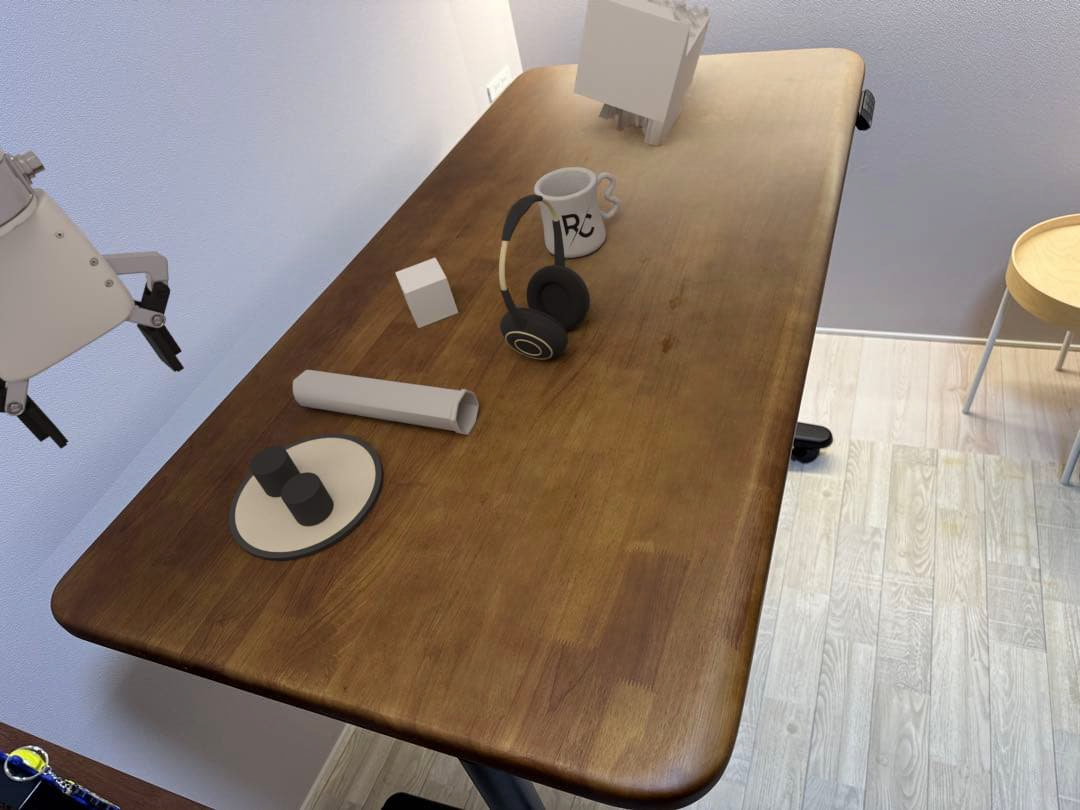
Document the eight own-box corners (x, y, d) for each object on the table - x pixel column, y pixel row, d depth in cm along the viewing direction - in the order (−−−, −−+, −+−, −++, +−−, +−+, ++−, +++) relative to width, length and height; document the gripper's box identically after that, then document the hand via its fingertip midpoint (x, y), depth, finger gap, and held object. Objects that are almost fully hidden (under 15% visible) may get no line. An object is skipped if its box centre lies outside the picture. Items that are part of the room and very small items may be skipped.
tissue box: (604, 88, 147) (632, -54, 127) (684, 115, 144) (725, -26, 124) (564, 142, 134) (588, -6, 115) (651, 172, 132) (690, 26, 112)
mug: (562, 268, 112) (549, 207, 105) (536, 241, 118) (522, 182, 111) (637, 236, 114) (629, 173, 107) (608, 211, 120) (599, 151, 113)
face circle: (282, 590, 80) (279, 587, 79) (204, 509, 91) (201, 505, 90) (414, 479, 87) (412, 475, 87) (328, 416, 98) (326, 413, 98)
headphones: (497, 373, 98) (454, 237, 84) (546, 302, 106) (515, 168, 93) (558, 384, 94) (524, 244, 80) (604, 309, 103) (580, 171, 89)
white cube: (458, 312, 109) (446, 277, 105) (418, 328, 108) (404, 293, 104) (447, 291, 113) (435, 257, 109) (408, 306, 112) (394, 272, 108)
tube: (277, 396, 97) (450, 423, 87) (294, 358, 99) (465, 381, 89) (301, 414, 101) (468, 442, 91) (317, 379, 103) (483, 402, 93)
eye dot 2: (309, 533, 84) (294, 510, 81) (288, 514, 87) (273, 491, 84) (341, 506, 86) (327, 483, 83) (320, 489, 88) (306, 466, 86)
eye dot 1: (276, 503, 88) (261, 481, 85) (257, 486, 91) (242, 463, 88) (308, 479, 90) (294, 456, 87) (288, 462, 93) (274, 439, 90)
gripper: (73, 133, 54) (194, 323, 66) (-195, 260, 47) (-5, 449, 59) (113, 153, 50) (235, 354, 62) (-176, 298, 43) (25, 494, 54)
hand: (118, 400), depth 60 cm, fingers open, 9 cm apart
